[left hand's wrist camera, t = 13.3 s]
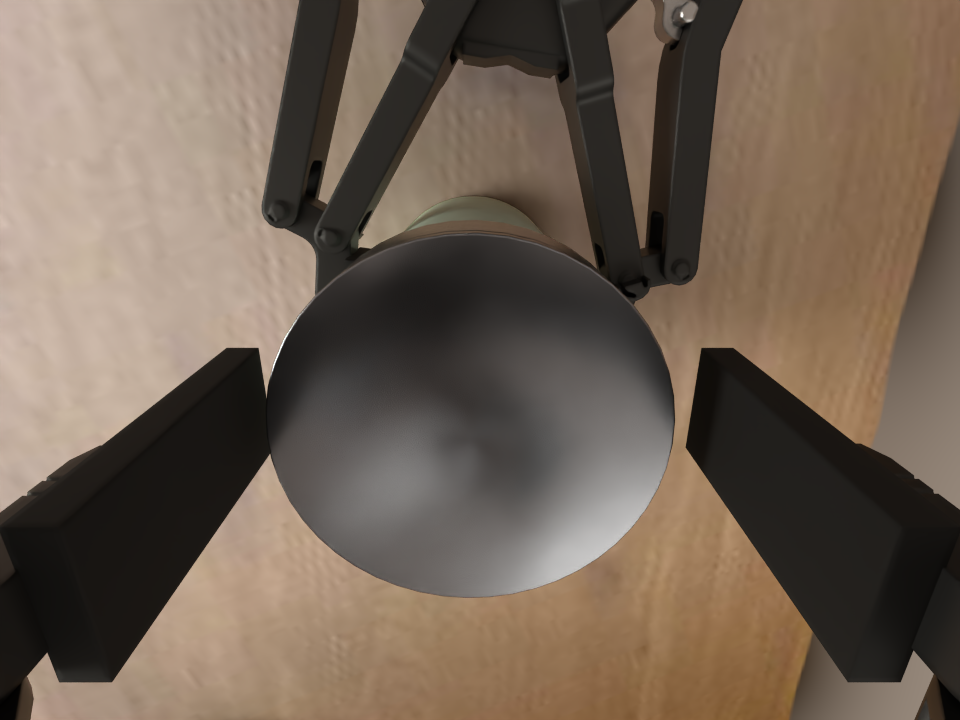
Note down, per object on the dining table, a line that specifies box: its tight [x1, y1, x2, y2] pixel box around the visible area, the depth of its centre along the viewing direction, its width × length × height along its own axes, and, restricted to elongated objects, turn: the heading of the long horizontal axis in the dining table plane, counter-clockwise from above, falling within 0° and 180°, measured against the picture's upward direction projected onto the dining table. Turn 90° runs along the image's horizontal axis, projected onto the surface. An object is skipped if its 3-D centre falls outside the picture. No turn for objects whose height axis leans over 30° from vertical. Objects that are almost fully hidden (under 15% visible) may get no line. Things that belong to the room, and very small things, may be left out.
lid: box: [266, 220, 675, 598], centre depth 13 cm, size 9×9×2 cm
